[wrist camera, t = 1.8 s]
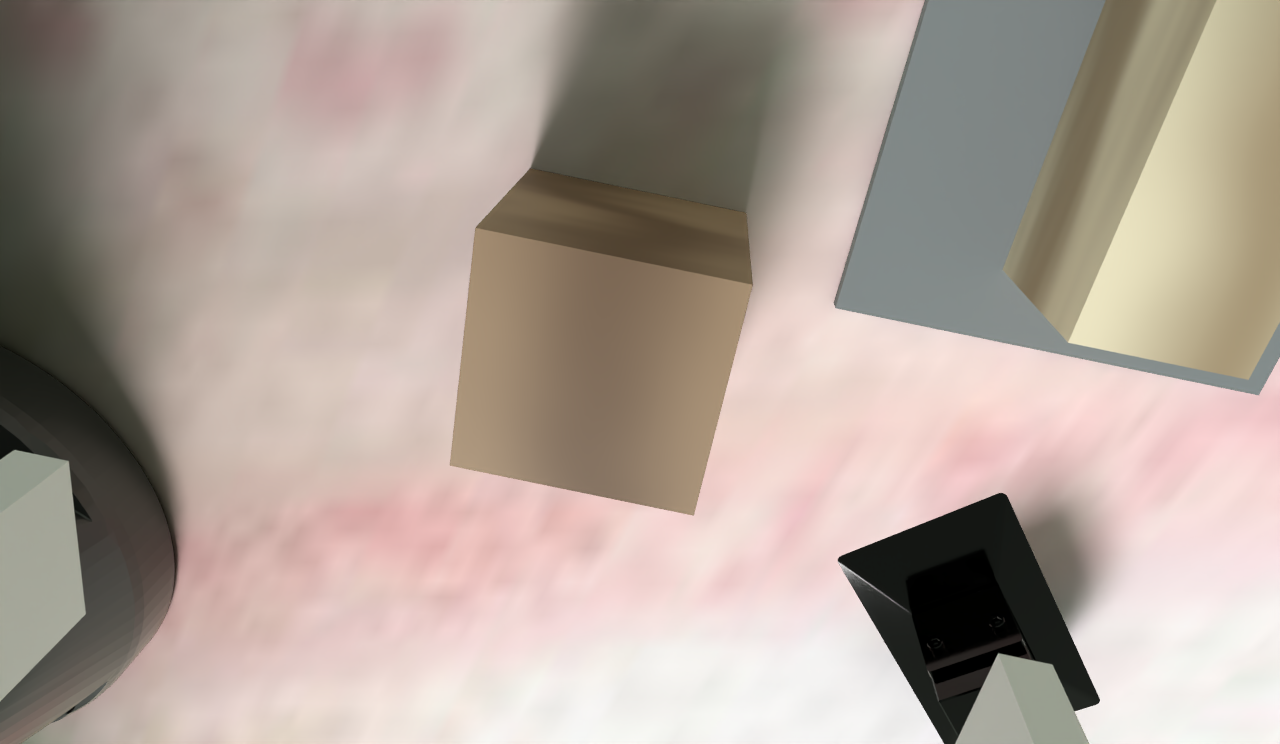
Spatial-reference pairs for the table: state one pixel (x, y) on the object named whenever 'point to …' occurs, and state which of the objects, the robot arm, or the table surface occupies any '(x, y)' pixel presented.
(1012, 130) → the mat
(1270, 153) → the plinth
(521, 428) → the walnut cube
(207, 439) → the table surface
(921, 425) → the table surface
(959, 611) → the black plastic holder
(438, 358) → the table surface
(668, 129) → the table surface
